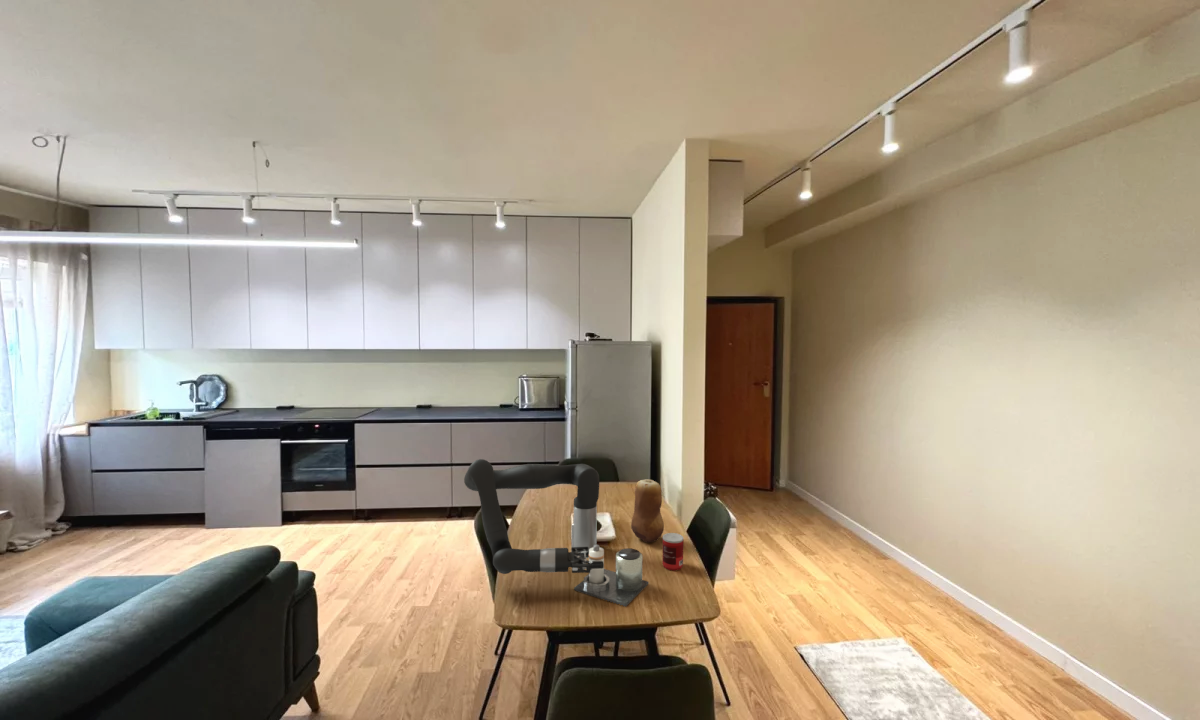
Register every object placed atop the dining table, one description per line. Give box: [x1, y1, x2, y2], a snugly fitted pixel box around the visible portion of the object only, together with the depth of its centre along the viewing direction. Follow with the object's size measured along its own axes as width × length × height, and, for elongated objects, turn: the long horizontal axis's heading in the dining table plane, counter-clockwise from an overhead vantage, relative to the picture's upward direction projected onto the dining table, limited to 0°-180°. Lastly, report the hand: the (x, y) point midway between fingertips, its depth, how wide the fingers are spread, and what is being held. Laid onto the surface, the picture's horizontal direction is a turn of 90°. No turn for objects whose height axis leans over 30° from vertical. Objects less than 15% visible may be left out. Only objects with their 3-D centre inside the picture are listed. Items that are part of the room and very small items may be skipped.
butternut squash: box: [630, 478, 665, 544], centre depth 205 cm, size 14×13×25 cm
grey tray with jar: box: [573, 548, 650, 608], centre depth 166 cm, size 20×17×12 cm
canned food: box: [662, 532, 685, 572], centre depth 182 cm, size 8×8×11 cm
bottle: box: [588, 544, 605, 584], centre depth 166 cm, size 5×5×14 cm
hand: (602, 558), depth 166 cm, fingers open, 8 cm apart
